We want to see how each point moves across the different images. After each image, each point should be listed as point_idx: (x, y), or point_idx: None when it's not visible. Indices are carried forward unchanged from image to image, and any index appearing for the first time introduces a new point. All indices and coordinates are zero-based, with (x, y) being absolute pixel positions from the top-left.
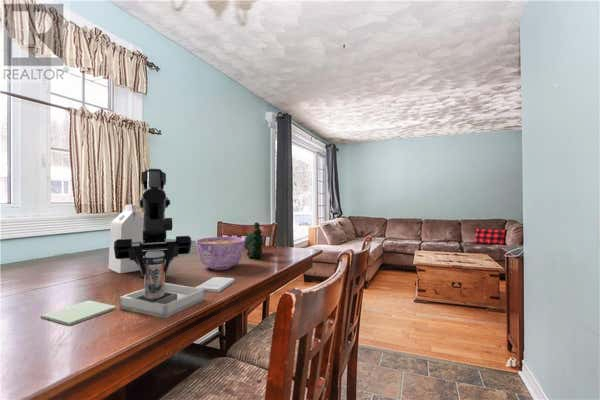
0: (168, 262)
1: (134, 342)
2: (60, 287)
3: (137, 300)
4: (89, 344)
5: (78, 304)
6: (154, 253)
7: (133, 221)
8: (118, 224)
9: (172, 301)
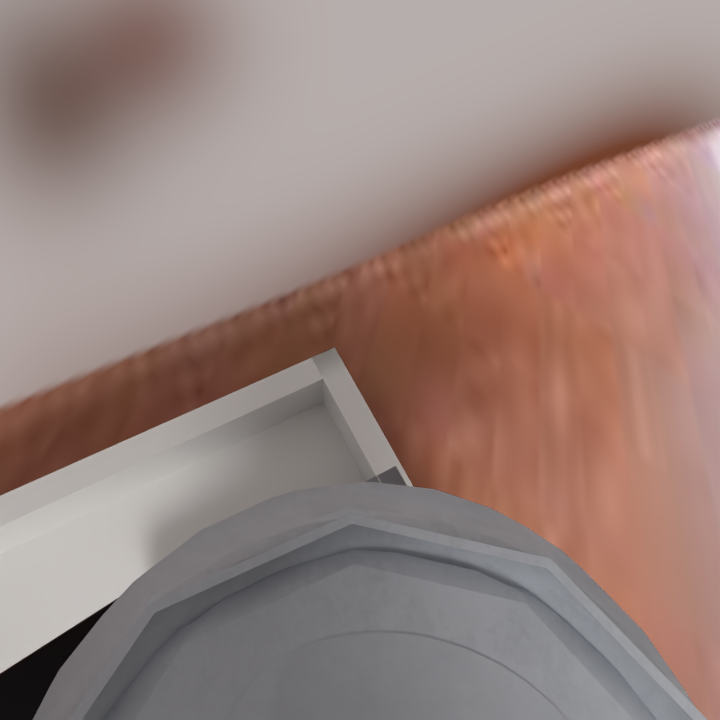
0: (48, 658)
1: (517, 210)
2: None
3: None
4: (699, 304)
5: None
6: (465, 551)
7: None
8: None
9: (256, 404)
